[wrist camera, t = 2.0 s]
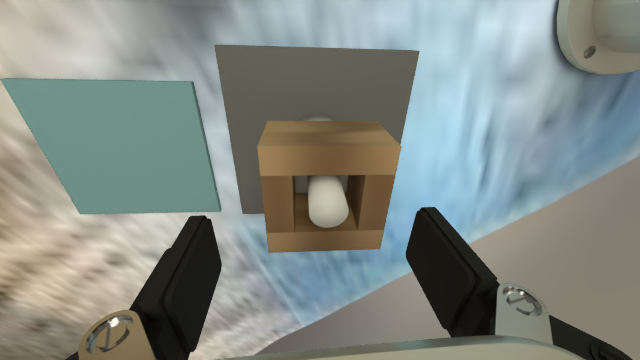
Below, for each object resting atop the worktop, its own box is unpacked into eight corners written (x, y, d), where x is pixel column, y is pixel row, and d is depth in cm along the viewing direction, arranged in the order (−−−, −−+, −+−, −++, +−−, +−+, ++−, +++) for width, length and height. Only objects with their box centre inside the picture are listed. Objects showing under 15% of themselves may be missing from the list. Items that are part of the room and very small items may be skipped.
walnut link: (377, 121, 15) (401, 146, 11) (364, 208, 18) (379, 248, 15) (267, 120, 14) (257, 146, 11) (275, 210, 18) (268, 252, 14)
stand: (411, 50, 18) (521, 60, 9) (382, 202, 25) (428, 294, 16) (221, 44, 17) (131, 50, 8) (245, 204, 24) (212, 304, 15)
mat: (193, 81, 18) (191, 82, 18) (221, 209, 24) (219, 211, 24) (6, 78, 17) (0, 78, 17) (83, 211, 23) (80, 214, 23)
